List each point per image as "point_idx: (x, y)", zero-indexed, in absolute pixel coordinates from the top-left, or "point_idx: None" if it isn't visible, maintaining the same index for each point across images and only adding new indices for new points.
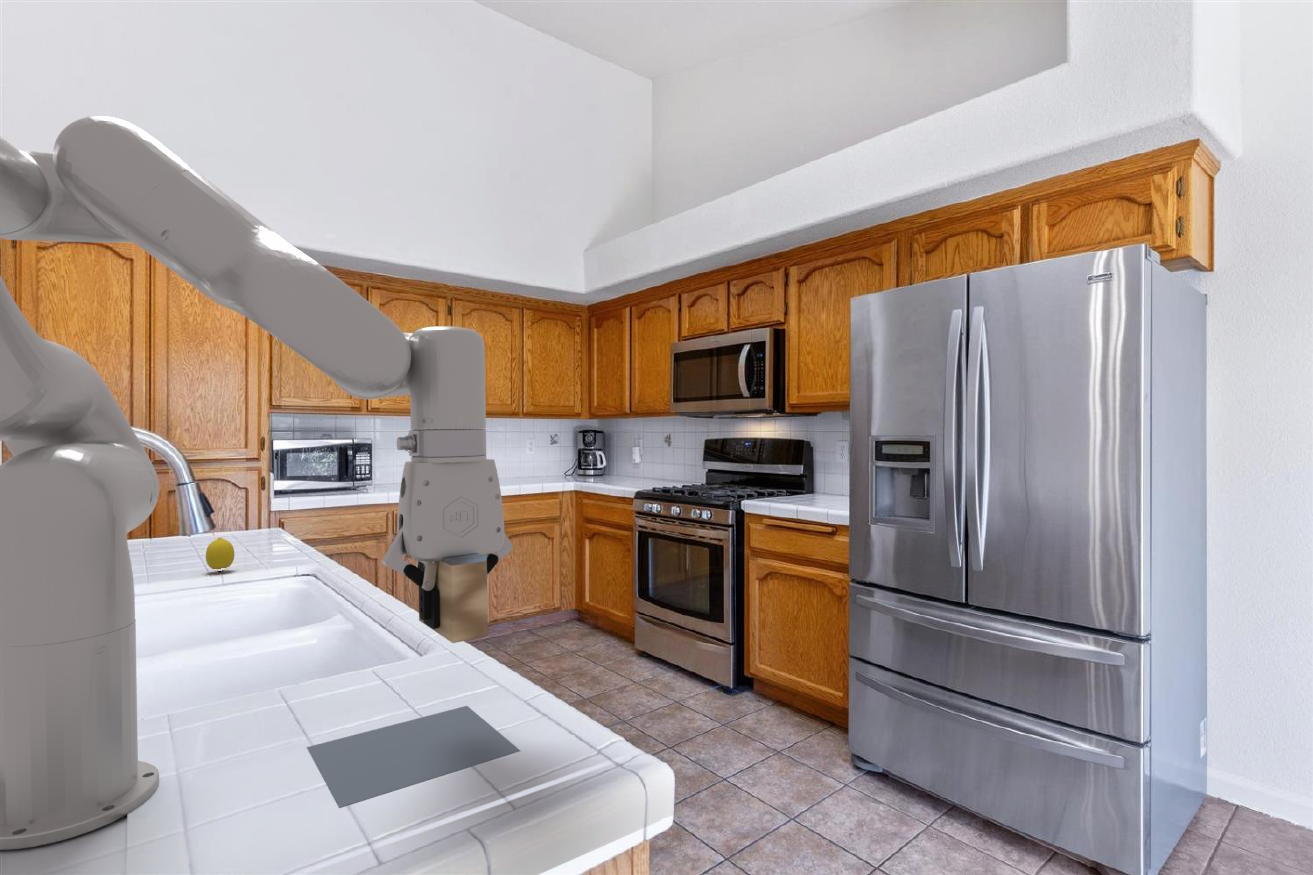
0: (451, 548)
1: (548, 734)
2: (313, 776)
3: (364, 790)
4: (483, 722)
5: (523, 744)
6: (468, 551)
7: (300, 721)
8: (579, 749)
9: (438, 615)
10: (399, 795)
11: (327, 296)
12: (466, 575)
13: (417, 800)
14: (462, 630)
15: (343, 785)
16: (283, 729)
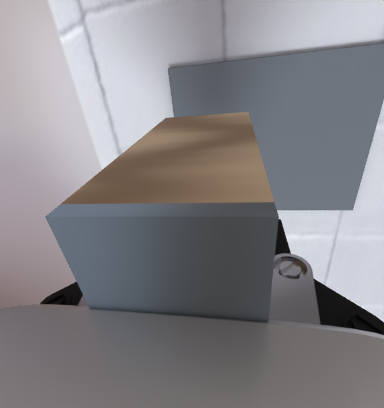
0: (220, 365)
1: (127, 101)
2: (372, 150)
3: (355, 71)
4: None
5: (158, 93)
6: (126, 325)
7: (326, 267)
8: (103, 38)
9: None
10: (322, 44)
11: None
12: (189, 173)
13: (311, 16)
14: (224, 118)
15: (367, 98)
16: (346, 260)
